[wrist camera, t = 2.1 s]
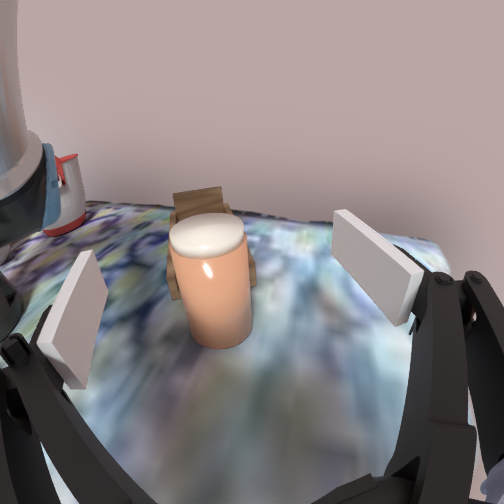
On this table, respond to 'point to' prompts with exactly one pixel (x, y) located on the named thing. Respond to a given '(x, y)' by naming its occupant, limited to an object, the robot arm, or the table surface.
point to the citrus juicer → (68, 196)
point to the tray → (191, 206)
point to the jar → (213, 278)
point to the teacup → (4, 254)
